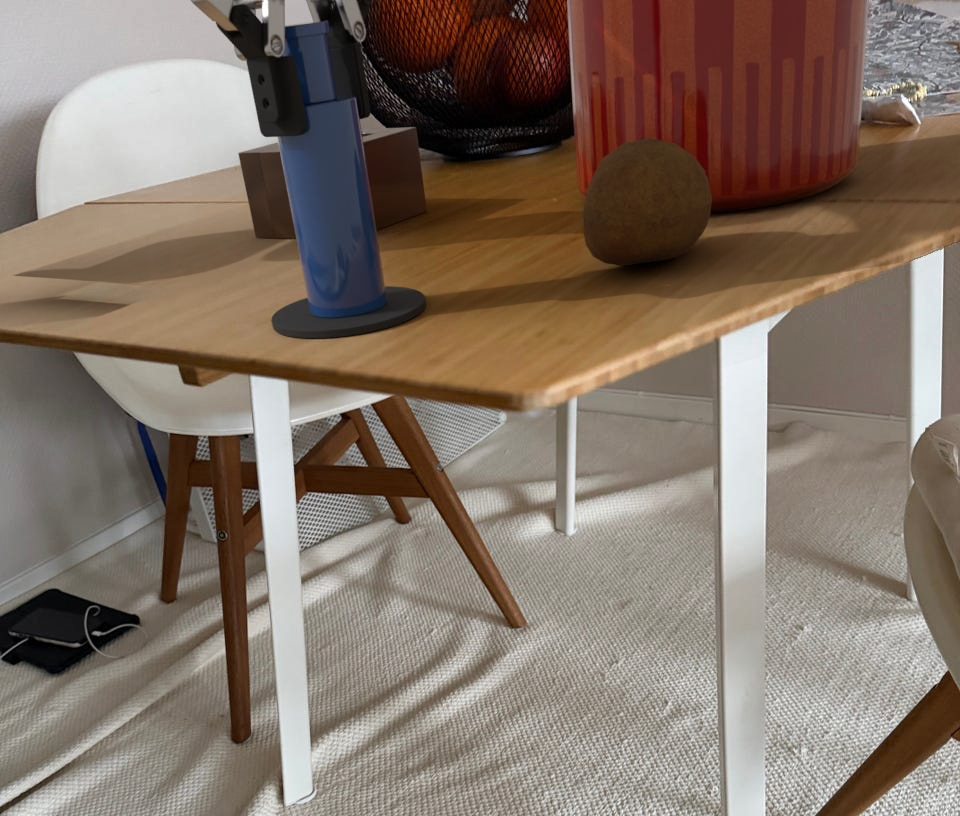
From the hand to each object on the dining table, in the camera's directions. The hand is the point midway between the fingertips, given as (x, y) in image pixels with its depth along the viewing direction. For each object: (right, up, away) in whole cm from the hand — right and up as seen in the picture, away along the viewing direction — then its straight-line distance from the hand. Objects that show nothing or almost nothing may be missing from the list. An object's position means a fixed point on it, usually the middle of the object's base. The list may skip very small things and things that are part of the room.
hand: (316, 123), depth 65 cm
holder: (-3, +7, +33) cm, 34 cm away
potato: (+21, -6, +9) cm, 24 cm away
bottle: (+1, -9, +6) cm, 11 cm away
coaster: (+1, -10, +6) cm, 11 cm away
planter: (+30, +7, +28) cm, 41 cm away
